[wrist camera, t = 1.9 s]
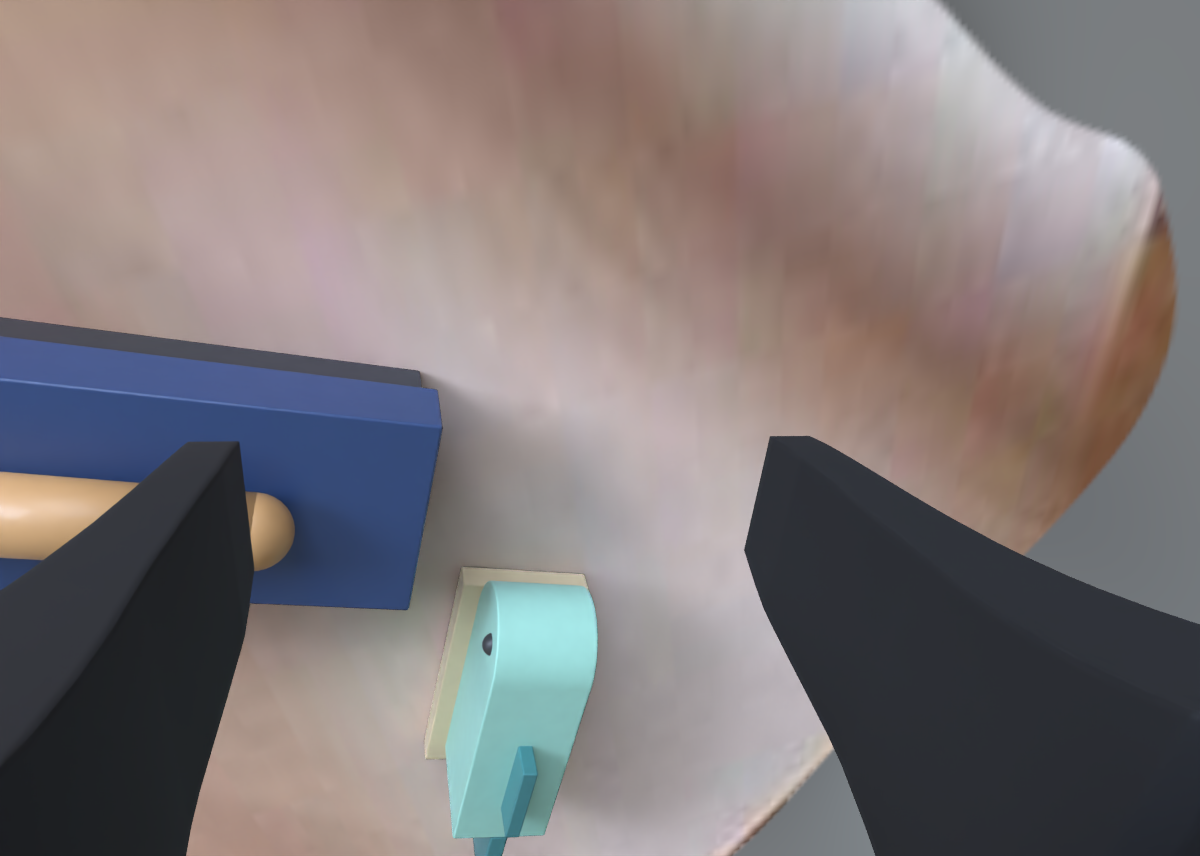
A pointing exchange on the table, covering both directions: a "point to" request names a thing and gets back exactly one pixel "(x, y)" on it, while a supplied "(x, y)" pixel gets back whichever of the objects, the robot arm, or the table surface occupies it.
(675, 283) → the table surface
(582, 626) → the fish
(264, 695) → the table surface
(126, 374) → the brush
